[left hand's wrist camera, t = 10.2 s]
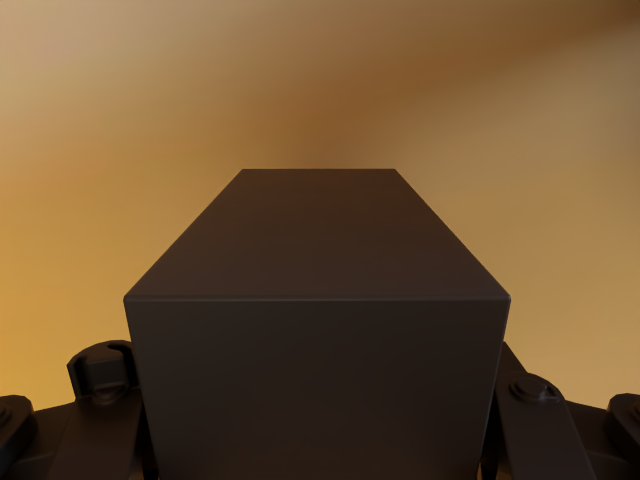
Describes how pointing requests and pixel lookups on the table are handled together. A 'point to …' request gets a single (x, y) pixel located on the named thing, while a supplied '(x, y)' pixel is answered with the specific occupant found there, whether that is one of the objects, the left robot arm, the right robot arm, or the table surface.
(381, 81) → the table surface
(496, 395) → the left robot arm
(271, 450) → the bar
